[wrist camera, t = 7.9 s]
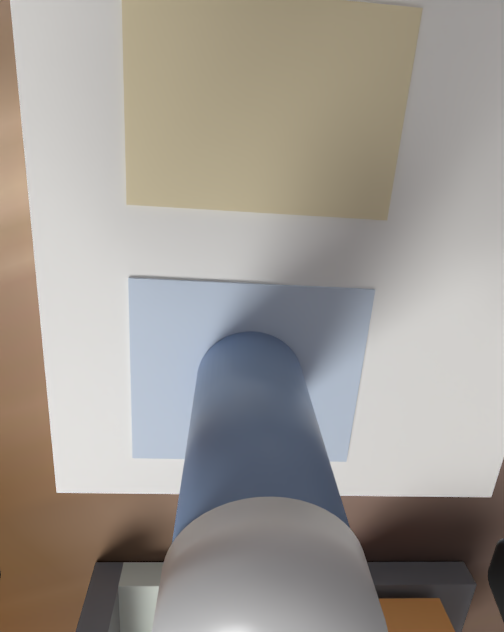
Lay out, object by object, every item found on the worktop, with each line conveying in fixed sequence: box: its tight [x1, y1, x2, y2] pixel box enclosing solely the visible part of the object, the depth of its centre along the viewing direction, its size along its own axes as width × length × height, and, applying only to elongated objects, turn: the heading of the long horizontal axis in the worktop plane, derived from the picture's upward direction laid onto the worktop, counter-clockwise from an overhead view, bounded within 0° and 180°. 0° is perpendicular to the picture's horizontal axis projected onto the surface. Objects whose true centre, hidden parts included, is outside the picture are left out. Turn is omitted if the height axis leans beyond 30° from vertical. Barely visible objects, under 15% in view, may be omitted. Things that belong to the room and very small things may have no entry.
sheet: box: [10, 0, 504, 497], centre depth 14 cm, size 15×16×1 cm
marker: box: [152, 331, 388, 632], centre depth 11 cm, size 3×3×8 cm
